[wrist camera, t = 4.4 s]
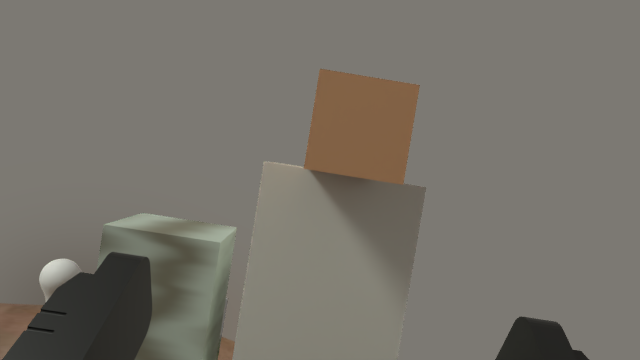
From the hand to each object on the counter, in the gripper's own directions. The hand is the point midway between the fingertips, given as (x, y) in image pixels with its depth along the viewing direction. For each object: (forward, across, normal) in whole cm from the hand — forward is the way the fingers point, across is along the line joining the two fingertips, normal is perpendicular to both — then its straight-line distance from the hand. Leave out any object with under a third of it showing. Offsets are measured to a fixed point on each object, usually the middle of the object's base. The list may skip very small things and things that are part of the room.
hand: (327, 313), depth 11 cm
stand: (+9, -1, +38) cm, 39 cm away
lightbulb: (+44, +38, +58) cm, 83 cm away
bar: (+20, -1, +8) cm, 22 cm away
